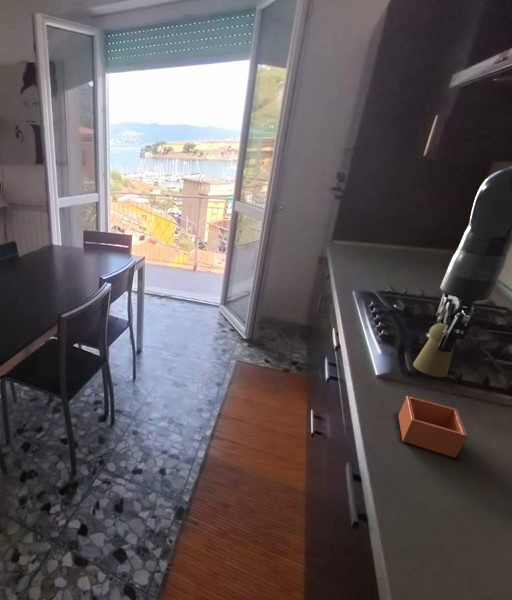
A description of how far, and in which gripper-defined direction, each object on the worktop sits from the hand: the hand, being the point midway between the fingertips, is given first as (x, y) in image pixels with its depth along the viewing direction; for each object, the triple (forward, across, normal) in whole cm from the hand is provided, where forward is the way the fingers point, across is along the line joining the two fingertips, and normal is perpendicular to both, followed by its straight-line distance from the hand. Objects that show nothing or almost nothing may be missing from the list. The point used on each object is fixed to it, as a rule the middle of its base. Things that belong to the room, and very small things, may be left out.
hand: (440, 344), depth 78 cm
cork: (+7, 0, 0) cm, 7 cm away
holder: (+17, -11, -1) cm, 20 cm away
